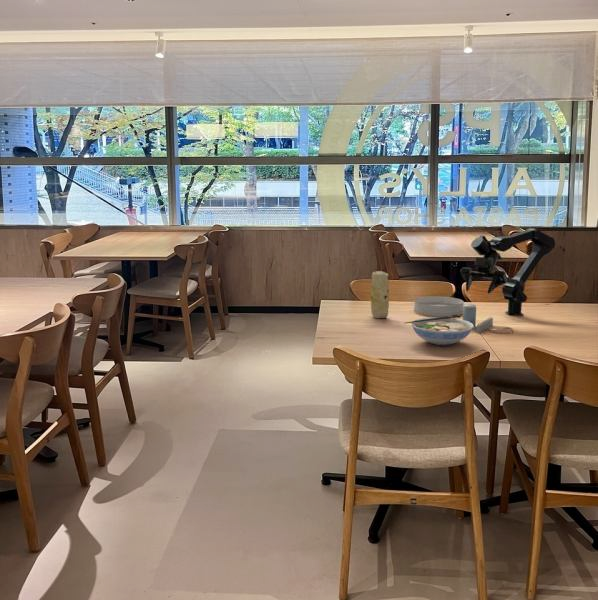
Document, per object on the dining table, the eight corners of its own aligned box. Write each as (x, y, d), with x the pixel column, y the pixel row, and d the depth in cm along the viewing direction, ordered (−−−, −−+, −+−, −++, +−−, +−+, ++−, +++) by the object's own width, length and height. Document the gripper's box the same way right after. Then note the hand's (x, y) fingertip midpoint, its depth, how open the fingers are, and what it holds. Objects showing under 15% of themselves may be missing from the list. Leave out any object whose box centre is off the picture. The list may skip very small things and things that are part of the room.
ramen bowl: (430, 354, 236) (431, 332, 234) (396, 339, 256) (396, 318, 255) (488, 346, 246) (489, 325, 244) (450, 332, 266) (451, 312, 265)
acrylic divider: (489, 324, 279) (490, 317, 279) (492, 324, 279) (492, 317, 278) (476, 332, 266) (476, 325, 266) (479, 332, 266) (479, 325, 265)
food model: (392, 317, 293) (393, 272, 289) (381, 320, 289) (381, 273, 285) (376, 314, 300) (377, 269, 296) (365, 316, 296) (366, 271, 293)
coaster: (486, 328, 274) (486, 326, 273) (509, 328, 273) (509, 326, 273) (492, 333, 265) (492, 331, 265) (515, 333, 265) (515, 331, 264)
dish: (446, 305, 320) (446, 294, 319) (473, 314, 299) (474, 303, 298) (404, 309, 312) (405, 298, 311) (430, 318, 292) (430, 307, 291)
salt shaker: (461, 325, 279) (462, 303, 277) (473, 325, 279) (474, 303, 277) (464, 328, 274) (465, 306, 272) (476, 328, 274) (477, 306, 272)
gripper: (462, 248, 286) (451, 277, 279) (506, 251, 275) (495, 282, 268) (469, 264, 293) (458, 293, 287) (511, 268, 283) (501, 298, 276)
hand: (477, 291), depth 279 cm, fingers open, 9 cm apart
